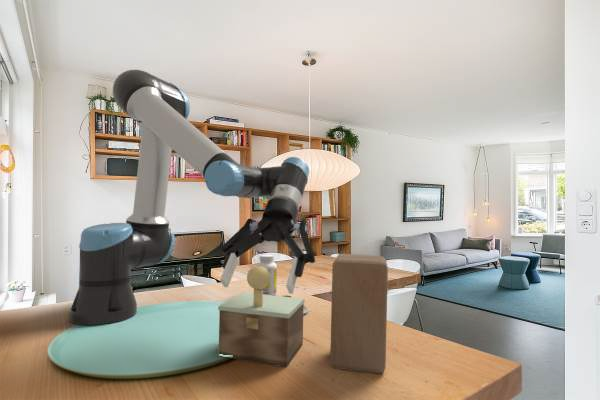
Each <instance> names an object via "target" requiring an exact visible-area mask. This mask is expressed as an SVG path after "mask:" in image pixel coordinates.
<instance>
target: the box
mask: <svg viewBox="0 0 600 400" xmlns="http://www.w3.org/2000/svg"><path fill="white" fill-rule="evenodd" d="M304 306H305V302H304V303H303V304H302V305H301V306H300V308H299V309H298V310H297V311H296V312H295V313H294V314H293V315H292V316H291V317H290V318H281V317H273V316H264V315H256V314H247V313H239V312H230V311H222V310H219V313H218V314H219V320H218V321H219V323H218V354H223V355H233V360H239V361H247V362H252V363H259V364H264V365H271V366H277V367H283V368H284V367H285V368H287V367H288V366H289V364H290V363H291V362H292V361H293V359H294V358H295V356H296V354H297V353H298V352H299V351H300V349H301V348H302V347H303V346H304V345H303V342H304V341H303V340H304V339H303V338H304V337H303V336H304V314H303V309H304Z"/></svg>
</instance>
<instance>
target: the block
mask: <svg viewBox="0 0 600 400" xmlns="http://www.w3.org/2000/svg"><path fill="white" fill-rule="evenodd" d="M331 268H332V270H331V271H332V272H331V274H332V275H331V276H332V278H331V308H330V309H331V310H330V312H331V313H330V314H331V316H330V318H331V319H330V346H329V347H330V349H329V351H330V353H329V354H330V358H329V362H330V365H331V367H332V368H334V369H342V370H343V369H344V370H351V371H356V372H357V371H358V372H367V373H368V372H369V373H376V374H383V373H384V372H385V370H386V360H387V359H386V358H387V357H386V356H387V355H386V353H387V351H386V350H387V320H388V319H387V318H388V314H387V313H388V279H389V278H388V275H389V274H388V273H389V267H388V263H387V259H386V257H384V256H382V255H371V254H356V253H355V254H352V253H350V254H349V253H340V254H337V256H336V258H335V259H334V261H333V262H332V267H331Z"/></svg>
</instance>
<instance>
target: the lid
mask: <svg viewBox="0 0 600 400" xmlns="http://www.w3.org/2000/svg"><path fill="white" fill-rule="evenodd" d="M246 281H247V284H248V285H249V286H250V287H251V288H252V289H253V293H251V292H241V293H240V294H238V295H235V296H234V297H232V298H230V299H228V300H227V301H225V302H223V303H221V304H219V305H218V306H217V308H218V309H217V310H218V311H220V310H222V311H230V312H239V313H247V314H256V315H264V316H273V317H281V318H290V317H291V316H292V315H293V314H294V313H295V312H296V311H297V310H298V309H299V308H300V306H301V305H302V304H303V303H304V304H305V302H306V301H305V300H306V299H305V298H304V297H303V298H302V297H293V296H291V297H283V296H284V295H282V296H281V295H274V296H273V295H263V288H265V287H266V286H267V285H268V284H269V282H270V273H269V271H268V269H267V268H265V267H263V266H257V265H255V266H253V267H251V268H250V269H249V270H248V272H247V274H246Z"/></svg>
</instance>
